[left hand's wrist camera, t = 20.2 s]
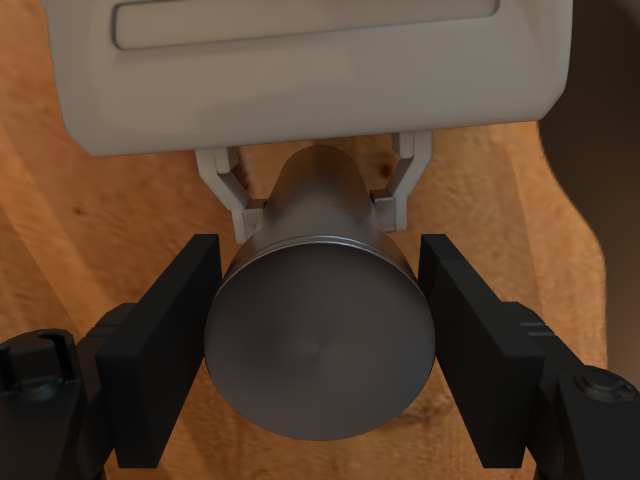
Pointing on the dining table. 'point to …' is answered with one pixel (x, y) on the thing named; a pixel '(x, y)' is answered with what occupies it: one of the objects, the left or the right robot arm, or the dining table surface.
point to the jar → (319, 187)
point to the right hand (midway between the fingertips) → (322, 234)
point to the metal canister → (319, 328)
